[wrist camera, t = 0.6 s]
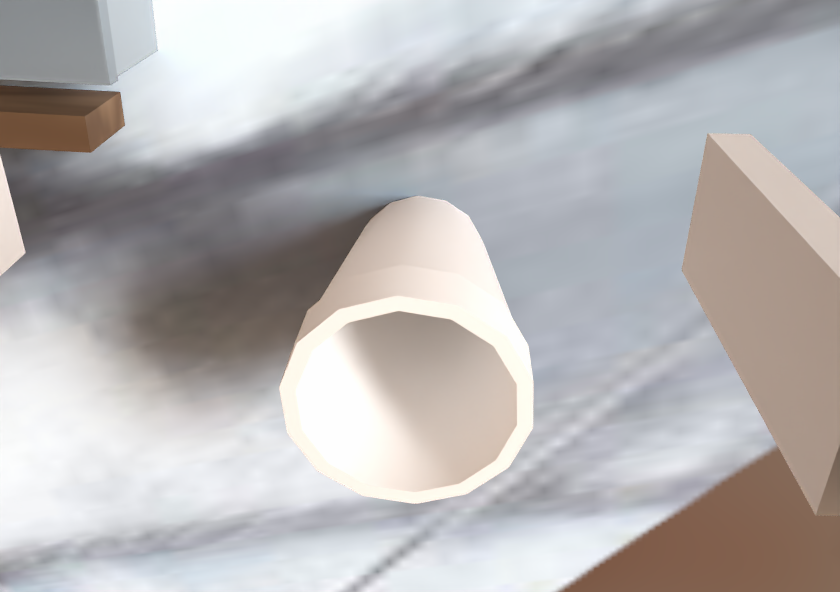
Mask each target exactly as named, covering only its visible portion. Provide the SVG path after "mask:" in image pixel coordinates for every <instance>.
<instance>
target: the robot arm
mask: <svg viewBox="0 0 840 592" xmlns="http://www.w3.org/2000/svg"><path fill="white" fill-rule="evenodd" d="M24 254H25V249H24V245H23V241H22V237H21V233H20V229H19V226H18V222H17V218H16V214H15V210H14V206H13V202H12V199H11V195H10V191H9V187H8V183H7V179H6V175H5V172H4V168H3V164H2V160H1V156H0V276H1V275H2V274H3V273H4V272H5V271H6V270H7V269H8V268H9V267H11V266H12V265H13V264H14V263H15V262H16V261H17V260H18V259H19V258H20V257H22V256H23V255H24ZM682 272H683V274H684V275H685V277H686V279H687V281H688V283H689V284H690V286H691V288H692V290H693V292H694V294H695V295H696V297H697V299H698V301H699V303H700V305H701V306H702V308H703V310H704V312H705V314H706V316H707V317H708V319H709V321H710V323H711V325H712V327H713V328H714V330H715V332H716V334H717V336H718V338H719V339H720V341H721V343H722V345H723V347H724V349H725V350H726V352H727V354H728V356H729V358H730V360H731V361H732V363H733V365H734V367H735V369H736V371H737V372H738V374H739V376H740V378H741V380H742V381H743V383H744V385H745V387H746V389H747V391H748V392H749V394H750V396H751V398H752V400H753V402H754V403H755V405H756V407H757V409H758V411H759V413H760V414H761V416H762V418H763V420H764V422H765V424H766V425H767V427H768V429H769V431H770V433H771V435H772V436H773V438H774V440H775V442H776V444H777V446H778V447H779V449H780V451H781V453H782V454H783V456H784V458H785V460H786V462H787V464H788V466H789V467H790V469H791V471H792V473H793V474H794V477H795V478H796V480H797V482H798V484H799V486H800V488H801V489H802V491H803V493H804V495H805V497H806V499H807V500H808V502H809V504H810V506H811V508H812V510H813V511H814V513H815V515H820V516H840V217H839V216H838V215H837V214H835V213H834V212H833V211H832V210H831V209H830V208H829V207H828V206H827V205H826V204H825V203H824V202H823V201H822V200H820V199H819V198H818V197H817V196H816V195H815V194H814V193H813V192H812V191H811V190H810V189H809V188H808V187H807V186H806V185H804V184H803V183H802V182H801V181H800V180H799V179H798V178H797V177H796V176H795V175H794V174H793V173H792V172H791V171H789V170H788V169H787V168H786V167H785V166H784V165H783V164H782V163H781V162H780V161H779V160H778V159H777V158H776V157H774V156H773V155H772V154H771V153H770V152H769V151H768V150H767V149H766V148H765V147H764V146H763V145H762V144H761V143H760V142H758V141H757V140H756V139H755V138H754V137H753V136H752V135H751V134H715V133H708V134H707V139H706V144H705V149H704V155H703V160H702V165H701V170H700V176H699V181H698V186H697V192H696V197H695V202H694V207H693V213H692V218H691V223H690V228H689V234H688V239H687V244H686V250H685V255H684V260H683V265H682Z"/></svg>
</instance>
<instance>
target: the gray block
mask: <svg viewBox="0 0 840 592" xmlns="http://www.w3.org/2000/svg"><path fill="white" fill-rule="evenodd" d="M156 51H158V48H157V39H156V31H155V22H154V13H153V5H152V0H0V79H3V80H21V81H38V82H56V83H74V84H92V85H112V84H113V83H115V82H116V81H118V77H117V76H119V75H120V74H122V73H123V72H125V71H127V70H128V69H130V68H131V67H133V66H134V65H136V64H138V63H139V62H141V61H142V60H144V59H145V58H147V57H148V56H150V55H152V54H153V53H155V52H156Z"/></svg>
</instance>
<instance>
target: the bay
mask: <svg viewBox="0 0 840 592" xmlns="http://www.w3.org/2000/svg"><path fill="white" fill-rule="evenodd" d="M123 126H125V123H124V116H123V109H122V102H121V95H120V92H110V91H92V90H74V89H56V88H38V87H20V86H2V85H0V147H1V148H18V149H36V150H53V151H71V152H89V153H91V152H92V151H94V150H95V149H96V148H97V147H99V146H100V145H101V144H102V143H104V142H105V141H106V140H107V139H108V138H110V137H111V136H112V135H113V134H115V133H116V132H117V131H118V130H120V129H121V128H122V127H123Z"/></svg>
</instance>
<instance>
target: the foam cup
mask: <svg viewBox="0 0 840 592" xmlns="http://www.w3.org/2000/svg"><path fill="white" fill-rule="evenodd" d="M279 390H280V395H281V401H282V406H283V412H284V417H285V423H286V428H287V433H288V435H289V436H290V437H291V438H292V440H293V441H294V442H295V443H296V445H297V446H298V447H299V448H300V450H301V451H302V452H303V453H304V455H305V456H306V457H307V459H308V460H309V461H310V462H311V464H312V465H313V466H314V467H315V469H316V470H317V471H318V472H320V473H322V474H324V475H325V476H327V477H329V478H331V479H333V480H335V481H336V482H338V483H340V484H342V485H344V486H346V487H348V488H349V489H351V490H353V491H355V492H357V493H359V494H360V495H362V496H367V497H374V498H380V499H387V500H394V501H400V502H407V503H413V504H417V503H422V502H428V501H433V500H438V499H443V498H449V497H454V496H459V495H464V494H468V493H469V492H471V491H472V490H474V489H475V488H477V487H479V486H480V485H482V484H483V483H485V482H487V481H488V480H490V479H491V478H493V477H494V476H496V475H498V474H499V473H501V472H502V471H504V470H505V469H507V468H509V466H510V464H511V463H512V461H513V459H514V458H515V456H516V455H517V453H518V451H519V450H520V448H521V446H522V445H523V443H524V442H525V440H526V438H527V437H528V435H529V433H530V432H531V430H532V428H533V375H532V368H531V361H530V354H529V347H528V344H527V343H526V341H525V339H524V337H523V336H522V334H521V332H520V331H519V329H518V327H517V325H516V324H515V322H514V320H513V318H512V316H511V314H510V311H509V308H508V306H507V303H506V300H505V298H504V295H503V293H502V290H501V287H500V285H499V282H498V280H497V277H496V274H495V272H494V269H493V267H492V264H491V261H490V259H489V256H488V254H487V251H486V248H485V246H484V243H483V242H482V240H481V237H480V235H479V233H478V232H477V230H476V228H475V226H474V225H473V223H472V221H471V219H470V218H469V216H468V215H466V214H465V213H463V212H462V211H461V210H459V209H458V208H456V207H455V206H453V205H452V204H450V203H449V202H447V201H446V200H440V199H434V198H429V197H423V196H414V197H410V198H406V199H402V200H399V201H395V202H391V203H389V204H388V205H387V206H386V207H384V208H383V209H382V210H381V211H380V212H379V213H377V214H376V215H375V216H374V217H373V218H371V219H370V220H369V223H367V225H366V226H365V228H364V229H363V231H362V233H361V234H360V236H359V238H358V239H357V241H356V242H355V244H354V246H353V247H352V249H351V250H350V252H349V254H348V255H347V257H346V259H345V260H344V262H343V263H342V265H341V267H340V268H339V270H338V272H337V273H336V275H335V276H334V278H333V280H332V281H331V283H330V284H329V286H328V288H327V289H326V291H325V293H324V294H323V296H322V297H321V299H320V300H319V301H318V302H317V303H316V304H314V305H313V306H312V307H311V308H310V309H308V310H307V313H306V316H305V318H304V321H303V323H302V326H301V328H300V331H299V333H298V336H297V339H296V341H295V344H294V346H293V349H292V351H291V354H290V357H289V360H288V363H287V366H286V369H285V372H284V375H283V378H282V381H281V384H280V387H279Z"/></svg>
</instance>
